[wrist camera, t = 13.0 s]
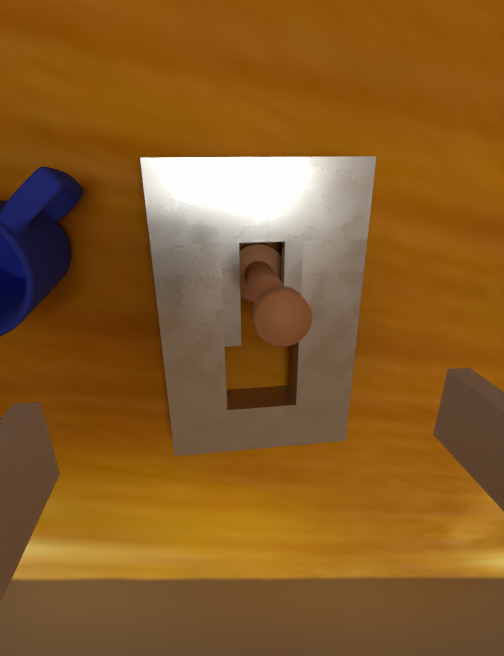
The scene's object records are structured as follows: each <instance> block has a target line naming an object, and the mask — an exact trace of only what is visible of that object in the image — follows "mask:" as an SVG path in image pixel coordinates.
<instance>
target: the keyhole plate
mask: <svg viewBox="0 0 504 656" xmlns="http://www.w3.org/2000/svg"><path fill="white" fill-rule="evenodd" d="M140 161H141V169H142V178H143V187H144V196H145V204H146V213H147V222H148V230H149V239H150V248H151V256H152V265H153V274H154V283H155V291H156V300H157V309H158V317H159V326H160V335H161V343H162V352H163V361H164V369H165V378H166V387H167V396H168V404H169V413H170V422H171V430H172V439H173V448H174V456H181V455H192V454H203V453H214V452H225V451H236V450H247V449H258V448H269V447H280V446H291V445H302V444H313V443H324V442H335V441H345V440H346V431H347V422H348V412H349V403H350V394H351V385H352V376H353V366H354V357H355V348H356V339H357V330H358V320H359V311H360V302H361V293H362V283H363V274H364V265H365V256H366V247H367V237H368V228H369V219H370V210H371V201H372V191H373V182H374V173H375V164H376V156H375V157H183V158H140ZM256 242H282V266H281V282H282V284H283V285H284V286H288V287H291V288H293V289H295V290H296V291H298V292H299V293H300V294H301V295H302V297H303V298H304V299H305V300H306V302H307V303H308V304H309V306H310V308H311V311H312V324H311V327H310V329H309V331H308V333H307V334H306V336H305V337H304V338H303V339H302V340H300V341H299V342H297V343H295V344H293V345H291V346H290V358H289V386H282V387H268V388H254V389H241V390H226V366H225V347H230V346H242V345H241V302H240V259H239V243H256Z"/></svg>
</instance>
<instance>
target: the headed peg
mask: <svg viewBox="0 0 504 656" xmlns="http://www.w3.org/2000/svg"><path fill="white" fill-rule="evenodd" d="M239 259H240V297H241V298H243V299H245V300H247V301H250V302H254V305H253V309H252V318H253V322H254V325H255V328H256V330H257V333H258V335H259V336H260V337H261V339H262V340H263V341H265V342H266V343H268V344H270V345H272V346H277V347H286V346H291V345H293V344H295V343H297V342H299V341H300V340H302V339H303V338H304V337H305V336H306V334H307V333H308V331H309V329H310V327H311V324H312V311H311V308H310V306H309V304H308V303H307V302H306V300H305V299H304V298H303V297H302V295H301V294H300V293H299V292H298V291H296V290H295V289H293V288H291V287H288V286H284V285H283V284H282V282H281V266H282V256H281V255H280V254H279V253H278V252H277V251H276V250H275V249H274V248H273V247H271V246H269V245H267V244H264V243H258V242H256V243H249V244H246V245H244V246H242V247H241V248H239Z"/></svg>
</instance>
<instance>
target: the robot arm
mask: <svg viewBox="0 0 504 656" xmlns="http://www.w3.org/2000/svg"><path fill="white" fill-rule="evenodd" d="M433 435H434V436H435V437H436V438H437V439H438V440H439V441H440V442H441V444H442V445H443V446H444V447H445V448H446V449H447V450H448V451H449V452H450V453H451V454H452V455H453V457H454V458H455V459H456V460H457V461H458V462H459V463H460V464H461V465H462V466H463V467H464V469H465V470H466V471H467V472H468V473H469V474H470V475H471V476H472V477H473V478H474V479H475V480H476V482H477V483H478V484H479V485H480V486H481V487H482V488H483V489H484V490H485V491H486V492H487V494H488V495H489V496H490V497H491V498H492V499H493V500H494V501H495V502H496V503H497V504H498V505H499V507H500V508H501V509H502V510H503V511H504V392H503V391H501V390H500V389H498V388H497V387H496V386H494V385H493V384H491V383H490V382H488V381H487V380H486V379H484V378H483V377H481V376H480V375H478V374H477V373H476V372H474V371H473V370H471V369H470V368H455V369H448V371H447V375H446V380H445V384H444V389H443V393H442V398H441V402H440V407H439V411H438V415H437V420H436V424H435V429H434V433H433ZM59 474H60V473H59V469H58V466H57V462H56V458H55V455H54V451H53V447H52V443H51V440H50V436H49V432H48V429H47V425H46V421H45V418H44V414H43V410H42V406H41V403H40V402H35V403H23V404H13V405H12V406H11V407H10V408H9V409H8V411H7V412H6V413H5V414H4V416H3V417H2V418H1V419H0V603H1V600H2V598H3V596H4V594H5V592H6V590H7V588H8V585H9V583H10V581H11V579H12V577H13V574H14V572H15V570H16V568H17V566H18V564H19V561H20V559H21V557H22V555H23V553H24V550H25V548H26V546H27V544H28V542H29V540H30V537H31V535H32V533H33V531H34V529H35V526H36V524H37V522H38V520H39V518H40V516H41V513H42V511H43V509H44V507H45V505H46V502H47V500H48V498H49V496H50V494H51V491H52V489H53V487H54V485H55V483H56V481H57V478H58V476H59Z"/></svg>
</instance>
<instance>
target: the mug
mask: <svg viewBox="0 0 504 656" xmlns="http://www.w3.org/2000/svg"><path fill="white" fill-rule="evenodd" d="M57 194H58V195H57ZM82 194H83V189H82V187H81V186H80V184H79V183H78V182H77V181H76V180H75V179H74V178H72V177H71V176H70V175H69V174H67V173H65V172H62V171H60V170H57V169H53V168H49V167H40V168H38V169H37V170H36V171H35V172H34V173H33V174H32V175H31V176H30V177H29V178H28V179H27V180H26V181H25V182H24V183H23V184H22V185H21V186H20V187H19V189H18V190H17V191H16V192H15V193H14V194H13V195H12V197H11V198H10V199H9V200H8V201H0V336H2V335H4V334H6V333H8V332H10V331H11V330H13V329H14V328H15V327H17V326H18V325H19V324H20V323H21V322H22V321H23V320H24V319H25V318H26V317H27V316H28V315H29V313H30V312H31V311H32V310H33V309H34V308H35V307H36V306H37V305H38V304H39V303H40V302H41V301H42V300H43V299H44V298H45V297H46V295H47V294H48V293H49V292H50V291H51V290H52V289H53V288H54V287H55V286H56V285H57V284H58V283H59V282H60V280H61V279H62V278H63V277H64V275H65V274H66V272H67V270H68V267H69V264H70V259H71V248H70V243H69V240H68V237H67V235H66V233H65V231H64V230H63V229H62V227H61V226H60V225H59V223H58V222H57V221H59V220H60V219H61V218H63V217H64V216H65V215H66V214H67V213H68V212H69V211H70V210H71V209H72V208H73V207H74V206H75V205H76V204H77V203H78V201H79V200H80V198H81V197H82ZM56 195H57V196H56ZM55 196H56V197H55ZM54 197H55V198H54ZM53 198H54V199H53ZM52 199H53V200H52ZM51 200H52V201H51ZM50 201H51V202H50ZM49 202H50V203H49ZM48 203H49V204H48ZM47 204H48V205H47ZM46 205H47V206H46ZM45 206H46V207H45Z"/></svg>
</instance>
